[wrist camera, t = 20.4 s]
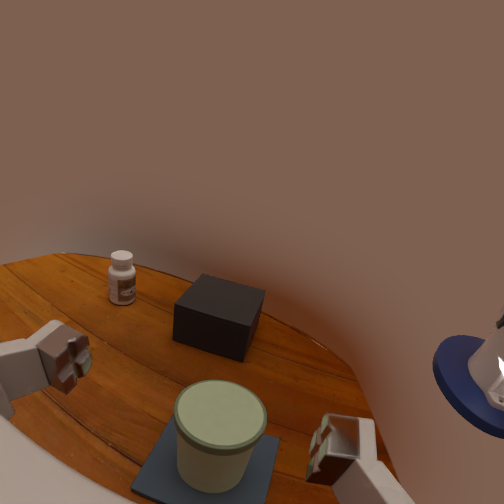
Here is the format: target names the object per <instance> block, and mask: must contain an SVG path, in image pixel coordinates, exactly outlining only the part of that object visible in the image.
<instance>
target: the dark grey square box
mask: <svg viewBox="0 0 504 504" xmlns="http://www.w3.org/2000/svg"><path fill="white" fill-rule="evenodd" d="M264 296H265V290H262V289H257V288H254V287H250V286H246V285H243V284H239V283H235V282H231V281H228V280H224V279H220V278H217V277H213V276H209V275H206V274H202V275H201V276H200V277H199V278H198V279H197V280H196V281H195V282H194V283H193V284H192V285H191V286H190V287H189V289H188V290H187V291H186V292H185V293H184V294H183V295H182V296H181V297H180V298H179V299H178V300H177V302H176V303H175V307H174V323H173V340H175V341H178V342H180V343H183V344H186V345H189V346H192V347H195V348H198V349H201V350H204V351H208V352H211V353H214V354H217V355H220V356H224V357H227V358H230V359H234V360H237V361H240V362H243V360H244V358H245V355H246V353H247V350H248V348H249V345H250V343H251V340H252V338H253V335H254V333H255V330H256V327H257V325H258V322H259V317H260V313H261V309H262V304H263V300H264Z"/></svg>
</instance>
